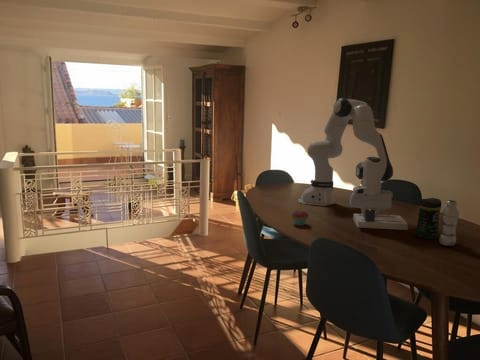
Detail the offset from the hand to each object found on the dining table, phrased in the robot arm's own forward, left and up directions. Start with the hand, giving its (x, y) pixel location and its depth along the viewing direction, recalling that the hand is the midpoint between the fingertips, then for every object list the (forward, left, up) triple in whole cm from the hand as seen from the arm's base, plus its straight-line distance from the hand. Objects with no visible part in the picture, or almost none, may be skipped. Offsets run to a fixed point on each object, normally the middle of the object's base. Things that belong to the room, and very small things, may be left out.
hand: (369, 216), depth 202 cm
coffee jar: (+24, -13, -5) cm, 28 cm away
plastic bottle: (+29, -24, -5) cm, 38 cm away
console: (+6, +5, -5) cm, 9 cm away
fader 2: (0, 0, -2) cm, 2 cm away
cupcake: (-35, -3, -5) cm, 36 cm away
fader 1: (0, +9, -2) cm, 9 cm away
